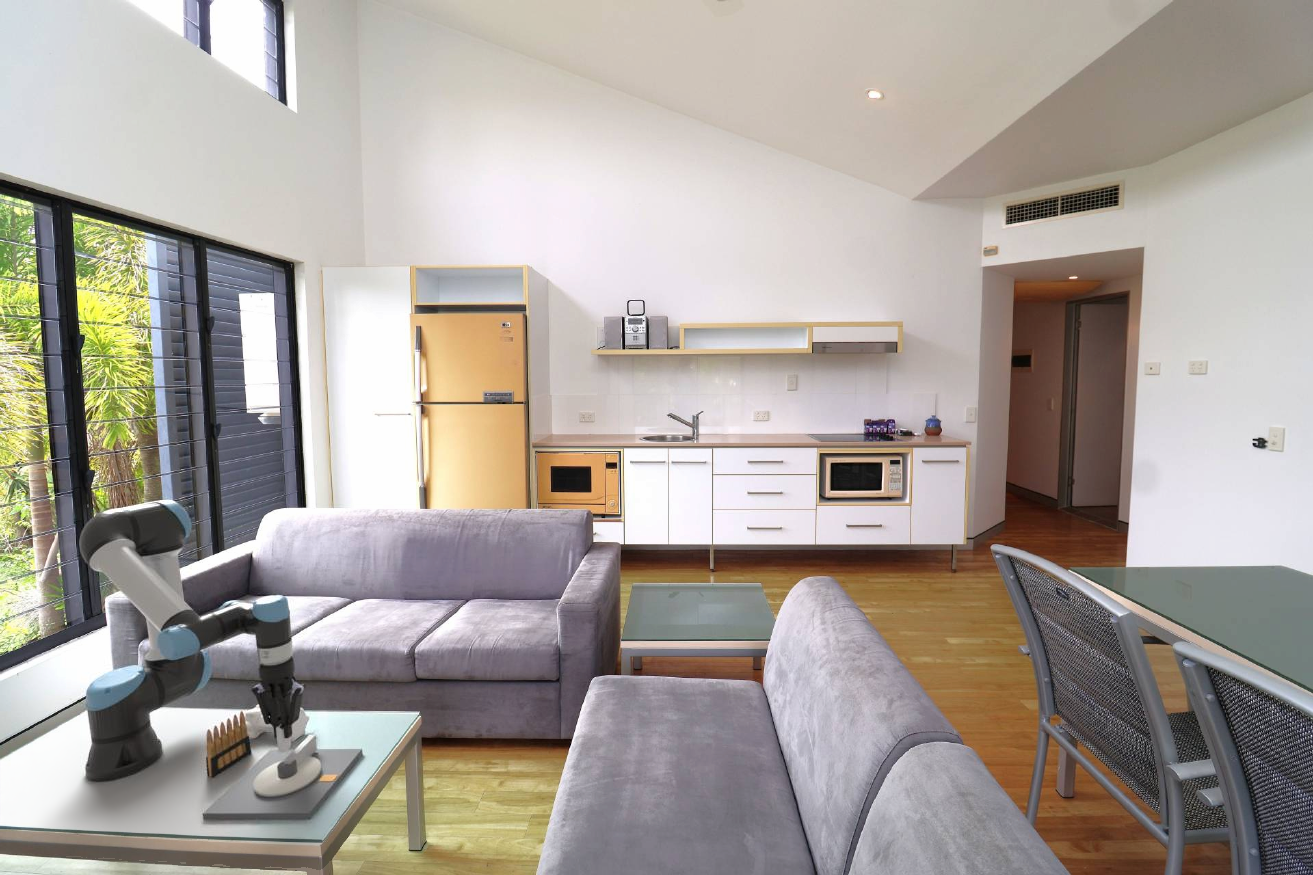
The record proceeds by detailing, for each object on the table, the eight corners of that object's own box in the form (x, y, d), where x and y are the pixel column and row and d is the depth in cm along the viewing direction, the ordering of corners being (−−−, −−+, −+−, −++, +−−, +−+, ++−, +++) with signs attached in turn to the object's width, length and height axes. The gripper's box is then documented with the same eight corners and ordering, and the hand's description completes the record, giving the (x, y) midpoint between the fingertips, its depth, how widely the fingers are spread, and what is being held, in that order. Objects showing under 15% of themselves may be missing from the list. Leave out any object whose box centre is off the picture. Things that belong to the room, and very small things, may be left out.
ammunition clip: (212, 778, 157) (207, 731, 156) (207, 777, 158) (201, 730, 157) (251, 753, 168) (247, 709, 166) (246, 752, 168) (241, 708, 167)
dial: (299, 796, 147) (298, 779, 146) (239, 796, 147) (237, 779, 147) (340, 750, 165) (339, 734, 164) (287, 750, 165) (285, 734, 165)
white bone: (311, 732, 178) (310, 703, 178) (287, 747, 169) (287, 716, 169) (264, 728, 181) (264, 699, 181) (238, 742, 172) (238, 712, 172)
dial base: (203, 819, 143) (202, 812, 142) (271, 754, 166) (270, 748, 166) (309, 819, 142) (309, 812, 142) (362, 754, 166) (362, 748, 165)
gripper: (240, 665, 156) (249, 757, 159) (290, 666, 155) (299, 759, 157) (262, 652, 164) (270, 740, 166) (310, 652, 162) (318, 741, 165)
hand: (284, 749), depth 162 cm, fingers closed
